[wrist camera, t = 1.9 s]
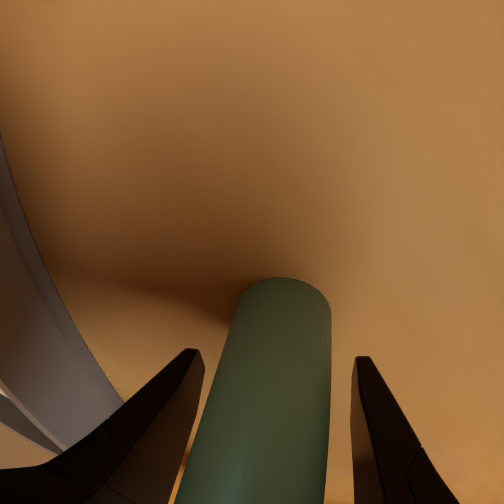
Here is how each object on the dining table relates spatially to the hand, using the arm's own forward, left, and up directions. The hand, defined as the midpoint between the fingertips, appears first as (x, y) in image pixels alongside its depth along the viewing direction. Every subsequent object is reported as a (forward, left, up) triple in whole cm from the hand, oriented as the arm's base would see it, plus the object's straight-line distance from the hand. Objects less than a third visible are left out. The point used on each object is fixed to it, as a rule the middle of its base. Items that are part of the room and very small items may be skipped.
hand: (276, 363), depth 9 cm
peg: (0, 0, -2) cm, 2 cm away
